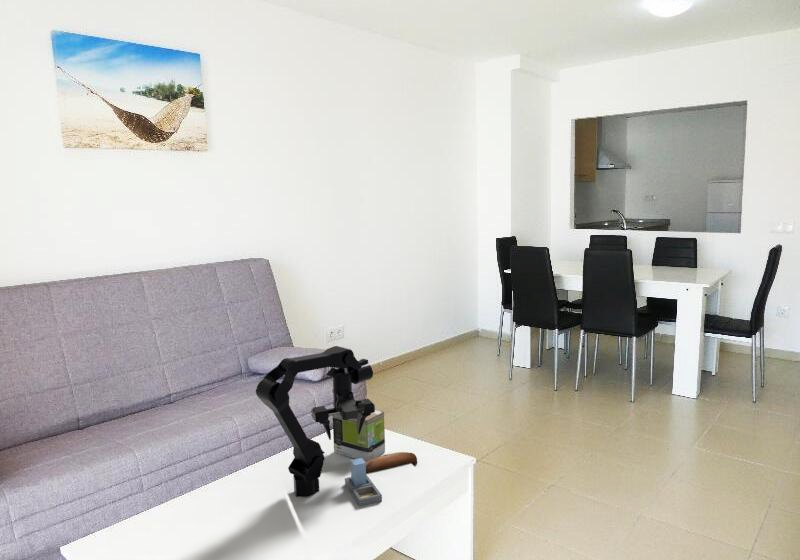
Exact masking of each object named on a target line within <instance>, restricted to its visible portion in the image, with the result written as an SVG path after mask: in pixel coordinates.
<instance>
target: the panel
mask: <svg viewBox="0 0 800 560" xmlns="http://www.w3.org/2000/svg"><path fill="white" fill-rule="evenodd" d="M344 485H345V486H346V488H347V490H348V491H349V493H350V494H351V496H352V497H353V498H354V501H355V502H356V503H357V505H358V506H359V507H360V508H361V507H364V506H365V507H366V506H370V505H373V504H377V503H381V502H383V495H382V493H381V491H380V490H379V489H378V488H377V486H376V485H375V484H374V483H373V481H372V480H371V478H370V477H369V476H368V475H367V474H366V484H363V485H359V486H354V487H353V485H352V484H351V476H350V477H345V478H344Z"/></svg>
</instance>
